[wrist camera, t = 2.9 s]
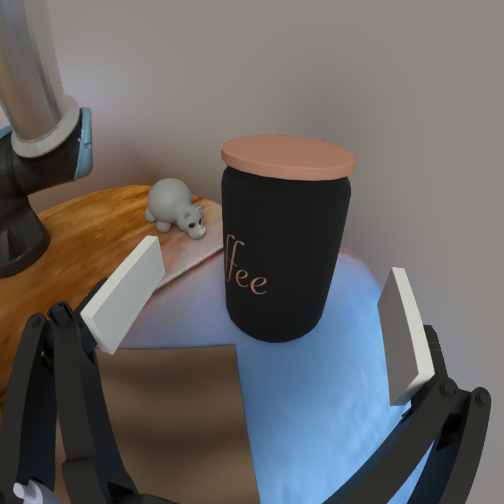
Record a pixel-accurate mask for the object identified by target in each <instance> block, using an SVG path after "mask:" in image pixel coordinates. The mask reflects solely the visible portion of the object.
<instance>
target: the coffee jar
mask: <svg viewBox="0 0 504 504" xmlns="http://www.w3.org/2000/svg"><path fill="white" fill-rule="evenodd" d="M221 155H222V160H223V161H224V162H225V163H226V164H227V166H228V167H227V168H226V169H225V170H224V173H223V177H222V182H221V187H222V220H223V246H224V268H225V288H226V306H227V310H228V313H229V315H230V318H231V320H232V321H233V322H234V323H235V324H236V325H237V326H238V327H239V328H240V330H241V331H243V332H245V333H246V334H248V335H250V336H251V337H253V338H255V339H257V340H261V341H265V342H270V343H279V342H288V341H291V340H294V339H297V338H300V337H302V336H304V335H305V334H306V333H308V332H309V331H311V330H312V329H313V328H314V327H315V326H316V324H317V323H318V321H319V320H320V318H321V316H322V313H323V309H324V306H325V302H326V299H327V295H328V292H329V288H330V284H331V281H332V277H333V273H334V269H335V265H336V261H337V257H338V253H339V248H340V244H341V239H342V235H343V231H344V226H345V221H346V217H347V211H348V207H349V202H350V197H351V187H350V182H349V180H348V178H347V177H348V176H349V175H350V174H351V173H352V172H353V171H354V169H355V165H356V159H355V156H354V155H353V154H352V153H350V152H349V151H348V150H346V149H343V148H341V147H339V146H337V145H334V144H330V143H327V142H324V141H319V140H315V139H310V138H304V137H296V136H286V135H255V136H247V137H241V138H237V139H233V140H230V141H228V142H226V143H224V144H223V146H222V149H221Z"/></svg>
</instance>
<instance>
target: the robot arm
mask: <svg viewBox="0 0 504 504" xmlns="http://www.w3.org/2000/svg"><path fill="white" fill-rule="evenodd" d="M0 105H1V107H2V109H3V111H4V113H5V115H6V117H7V118H8V120H9V122H10V124H11V125H9V126H6V127H4V128H2V129H0V278H5V277H9V276H12V275H14V274H16V273H19V272H20V271H22V270H24V269H25V268H27V267H28V266H30V265H31V264H32V263H34V262H35V261H36V260H37V259H38V258H39V257H40V256H41V255H42V254H43V253H44V251H45V250H46V249H47V247H48V245H49V242H50V237H49V234H48V232H47V229H46V227H45V225H44V224H43V223H41V221H40V220H39V218H38V216H37V215H36V213H35V212H34V210H33V209H32V207H31V205H30V203H29V199H28V196H27V195H30V194H33V193H36V192H38V191H41V190H45V189H48V188H51V187H54V186H57V185H61V184H64V183H68V182H74V181H76V180H77V179H80V178H83V177H86V176H88V175H89V174H90V173H91V171H92V168H93V151H92V121H91V110H90V108H84V107H82V108H80V109H79V106H78V103H77V101H76V100H75V99H74V98H72V97H71V96H69V95H65V93H64V90H63V86H62V82H61V78H60V73H59V69H58V64H57V59H56V54H55V49H54V43H53V37H52V31H51V23H50V15H49V6H48V0H0ZM164 276H165V269H164V265H163V260H162V255H161V250H160V245H159V239H158V237H155V236H146V237H145V238H144V239H143V240H142V242H141V243H140V244H139V245H138V246H137V247H136V248H135V249H134V250H133V251H132V252H131V254H130V255H129V256H128V257H127V258H126V259H125V260H124V261H123V262H122V264H121V265H120V266H119V267H118V268H117V269H116V270H115V272H114V273H113V274H112V275H111V276H110V277H109V278H104V279H102V280H101V281H99V282H98V283H97V284H96V285H95V286H94V288H93V289H92V291H90V292H89V293H88V296H86V297H85V298H84V299H83V301H82V302H81V303H80V304H79V306H78V307H77V308H76V309H75V311H74V312H73V311H72V309H71V307H70V305H69V304H68V303H67V302H65V301H60V302H57V303H55V304H53V305H52V306H51V307H50V308H49V310H48V313H47V315H48V317H49V318H50V320H47V319H46V317H45V316H44V314H42V313H36V314H34V315H32V316H31V317H30V318H29V319H28V321H27V323H26V325H25V328H24V331H23V334H22V337H21V340H20V343H19V346H18V350H17V353H16V356H15V360H14V364H13V367H12V371H11V375H10V379H9V384H8V388H7V393H6V398H5V403H4V409H3V415H2V422H1V430H0V504H60V501H59V499H58V498H57V497H55V496H54V494H53V493H54V488H55V471H56V469H55V446H56V424H57V412H58V417H59V424H60V430H61V436H62V441H63V446H64V451H65V456H66V460H65V461H64V462H63V463H62V466H61V469H62V475H63V478H64V482H65V486H66V489H67V493H68V496H69V499H70V502H71V504H179V503H176V502H173V501H170V500H167V499H165V498H161V497H157V496H153V495H150V494H146V493H145V494H139V493H138V490H137V488H136V486H135V484H134V481H133V480H132V478H131V477H130V475H129V474H128V473H127V471H126V470H125V467H124V465H123V462H122V459H121V456H120V453H119V450H118V447H117V444H116V440H115V437H114V434H113V430H112V427H111V423H110V419H109V415H108V411H107V407H106V403H105V398H104V394H103V389H102V384H101V379H100V374H99V368H98V362H97V355H96V351H95V349H94V348H95V346H96V345H97V344H98V346H99V348H100V349H101V351H103V352H106V353H108V354H111V355H113V354H114V352H115V351H116V349H117V348H118V346H119V344H120V343H121V341H122V339H123V338H124V336H125V335H126V333H127V332H128V330H129V328H130V327H131V325H132V324H133V322H134V321H135V319H136V317H137V316H138V314H139V313H140V311H141V310H142V308H143V307H144V305H145V304H146V302H147V301H148V299H149V298H150V296H151V295H152V293H153V292H154V290H155V289H156V287H157V286H158V284H159V283H160V281H161V280H162V278H163V277H164ZM377 306H378V311H379V317H380V323H381V329H382V335H383V342H384V349H385V357H386V365H387V375H388V385H389V397H390V406H401V405H405V404H407V403H408V402H409V401H410V400H411V407H410V408H409V409H408V410H407V411H406V412H405V413H404V414H403V415H402V417H403V418H402V419H401V420H400V422H399V423H398V424H397V426H396V427H395V428H394V430H393V431H392V432H391V433H390V435H389V436H388V437H387V438H386V439H385V441H384V442H383V443H382V444H381V445H380V447H379V448H378V449H377V450H376V451H375V452H374V454H373V455H372V456H371V457H370V458H369V459H368V460H367V461H366V462H365V463H364V465H363V466H362V467H361V468H360V469H359V470H358V471H357V472H356V473H355V474H354V475H353V476H352V477H351V478H350V479H349V480H348V481H347V482H346V483H345V484H344V485H343V486H341V487H340V488H339V489H338V490H337V491H336V492H335V493H334V494H333V495H332V496H330V497H329V498H328V499H327V500H326V501H325V502H323V503H322V504H387V503H388V502H389V500H390V499H391V498H392V497H393V496H394V495H395V493H396V492H397V491H398V490H399V489H400V487H401V486H402V485H403V484H404V482H405V481H406V480H407V479H408V477H409V476H410V475H411V473H412V472H413V471H414V469H415V468H416V466H417V465H418V464H419V462H420V461H421V459H422V458H423V456H424V455H425V453H426V452H427V450H428V449H429V447H430V446H431V444H432V443H433V441H434V443H433V446H432V449H431V451H430V454H429V457H428V459H427V462H426V464H425V466H424V469H423V471H422V473H421V476H420V478H419V480H418V482H417V484H416V486H415V489H414V491H413V493H412V495H411V497H410V498H409V500H408V502H407V504H465V502H466V500H467V497H468V495H469V492H470V489H471V487H472V484H473V481H474V478H475V475H476V472H477V468H478V465H479V461H480V458H481V454H482V450H483V446H484V441H485V437H486V432H487V427H488V421H489V415H490V409H491V397H490V394H489V392H488V391H487V390H486V389H485V388H483V387H478V388H475V390H473V391H472V392H468V391H465V390H461V389H459V388H458V387H457V384H456V383H455V382H454V381H453V380H452V379H451V378H449V377H448V375H447V371H446V367H445V362H444V358H443V355H442V351H441V347H440V344H439V340H438V337H437V333H436V332H435V330H434V329H433V328H432V326H431V325H423V324H422V321H421V317H420V314H419V311H418V308H417V305H416V301H415V298H414V296H413V292H412V289H411V287H410V284H409V281H408V278H407V275H406V273H405V270H404V269H403V268H395V267H392V268H391V271H390V273H389V276H388V279H387V281H386V284H385V286H384V289H383V291H382V294H381V296H380V299H379V301H378V304H377ZM42 351H43V352H44V353H43V356H41V355H42ZM434 439H435V440H434Z"/></svg>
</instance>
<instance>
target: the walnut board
mask: <svg viewBox="0 0 504 504" xmlns="http://www.w3.org/2000/svg"><path fill="white" fill-rule="evenodd" d="M94 349H95V351H96V355H97V362H98V368H99V374H100V379H101V384H102V389H103V394H104V398H105V403H106V407H107V411H108V415H109V419H110V423H111V427H112V430H113V434H114V437H115V440H116V444H117V447H118V450H119V453H120V456H121V459H122V462H123V465H124V467H125V470H126V471H127V473H128V474H129V475H130V477H131V478H132V480H133V481H134V484H135V486H136V488H137V490H138V493H139V494H145V493H146V494H150V495H153V496H157V497H161V498H165V499H167V500H170V501H173V502H176V503H179V504H260V500H259V495H258V490H257V485H256V479H255V474H254V468H253V462H252V457H251V451H250V445H249V439H248V433H247V427H246V421H245V414H244V408H243V401H242V395H241V388H240V381H239V374H238V367H237V360H236V353H235V346H234V345H227V346H213V347H197V348H174V349H116V351H115V352H114V354H113V355H111V354H108V353H106V352H103V351H101V349H100V348H94ZM65 460H66V456H65V451H64V446H63V441H62V436H61V430H60V424H59V417H58V412H57V424H56V446H55V469H56V471H55V488H54V493H53V494H54V496H55V497H57V498H58V499H59V501H60V504H71V502H70V499H69V496H68V493H67V489H66V486H65V482H64V478H63V475H62V469H61V466H62V463H63V462H64V461H65Z"/></svg>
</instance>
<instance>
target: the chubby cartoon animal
mask: <svg viewBox="0 0 504 504" xmlns="http://www.w3.org/2000/svg"><path fill="white" fill-rule="evenodd" d="M191 202H192V197H191V193H190V191H189V189H188V187H187V186H186V185H185V184H184V183H183V182H182V181H180V180H178V179H174V178H167V179H163V180H160V181H159V182H157V183H156V184H155V185H154V186H153V187H152V188H151V190H150V192H149V195H148V206H147V208H146V210H145V218H146V220H147V221H150V222H155V221H157V222H156V228H157V230H158V231H159V232H161V233H167V232H169V231H170V229H171V223H173V224H175V225H178V227H179V228H180V229H181V230H183V231H186V232H187V233H188V235H189V236H190V237H191V238H192V239H195V240H198V239H201V238H202V237H203V236H204V234H205V233H206V229H205V226H204V224H203V218H202V212H201V211H202V208H203V205H199V206H197V207H196V206H194V205H191Z"/></svg>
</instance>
